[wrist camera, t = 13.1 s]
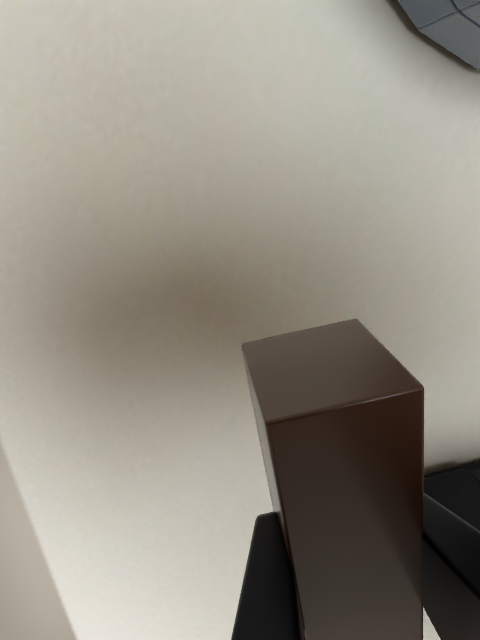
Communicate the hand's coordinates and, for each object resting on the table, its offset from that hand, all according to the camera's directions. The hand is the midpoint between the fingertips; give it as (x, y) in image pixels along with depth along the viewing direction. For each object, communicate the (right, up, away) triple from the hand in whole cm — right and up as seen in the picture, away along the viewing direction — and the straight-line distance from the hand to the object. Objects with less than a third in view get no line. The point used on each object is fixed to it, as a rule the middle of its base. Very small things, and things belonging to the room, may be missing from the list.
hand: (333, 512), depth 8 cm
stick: (0, 0, +1) cm, 1 cm away
